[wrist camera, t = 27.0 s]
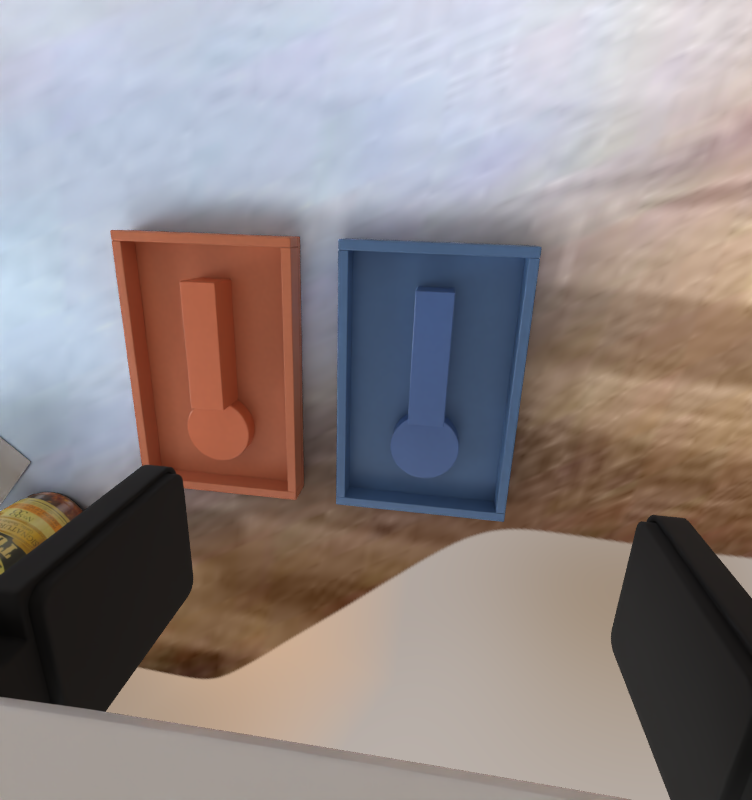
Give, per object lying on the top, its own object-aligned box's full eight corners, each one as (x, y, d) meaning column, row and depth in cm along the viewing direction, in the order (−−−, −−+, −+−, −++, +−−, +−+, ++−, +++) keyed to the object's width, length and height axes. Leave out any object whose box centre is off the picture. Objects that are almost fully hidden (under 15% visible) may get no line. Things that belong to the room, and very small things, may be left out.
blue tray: (345, 238, 30) (338, 238, 28) (535, 245, 29) (541, 246, 27) (342, 490, 36) (336, 504, 34) (500, 506, 34) (504, 521, 32)
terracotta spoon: (182, 276, 32) (161, 280, 29) (248, 279, 31) (232, 283, 29) (198, 450, 36) (181, 465, 33) (256, 456, 35) (243, 471, 33)
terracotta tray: (129, 230, 32) (109, 230, 30) (300, 236, 30) (290, 237, 28) (159, 471, 37) (144, 484, 35) (304, 486, 36) (296, 500, 34)
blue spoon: (399, 285, 30) (395, 289, 28) (473, 288, 29) (475, 293, 27) (390, 467, 34) (386, 483, 32) (455, 473, 33) (456, 490, 31)
